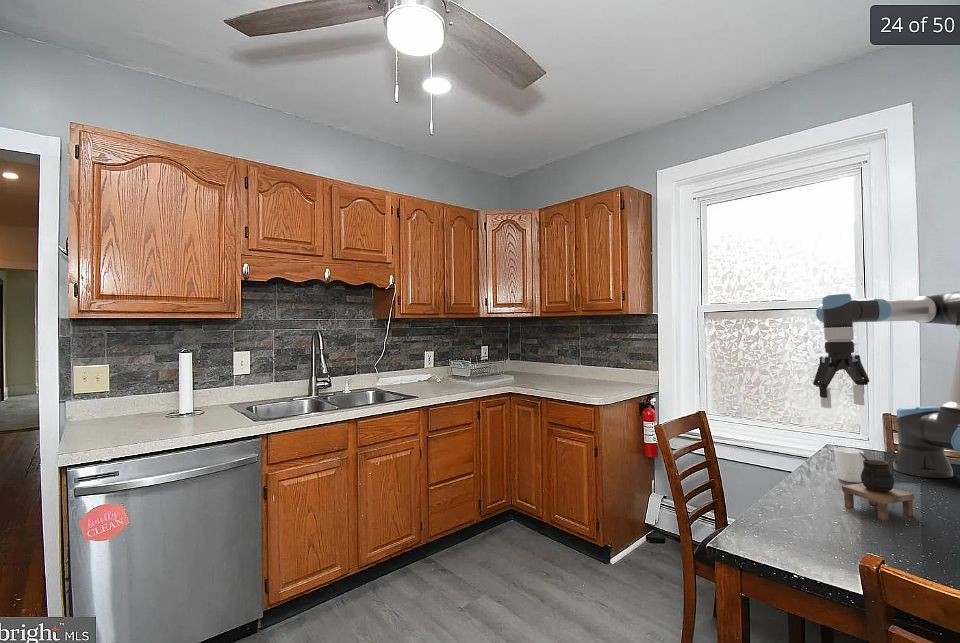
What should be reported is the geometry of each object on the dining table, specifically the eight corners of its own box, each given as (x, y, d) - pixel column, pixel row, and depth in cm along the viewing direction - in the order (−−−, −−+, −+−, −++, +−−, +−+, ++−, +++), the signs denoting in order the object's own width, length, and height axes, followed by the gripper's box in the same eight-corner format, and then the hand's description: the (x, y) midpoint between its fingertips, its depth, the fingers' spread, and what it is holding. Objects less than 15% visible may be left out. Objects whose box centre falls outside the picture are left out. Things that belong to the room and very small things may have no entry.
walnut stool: (872, 502, 135) (871, 481, 136) (915, 516, 125) (913, 493, 125) (843, 506, 133) (842, 485, 133) (884, 521, 122) (883, 498, 122)
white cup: (870, 483, 151) (869, 453, 151) (844, 483, 153) (842, 453, 153) (856, 476, 159) (854, 447, 159) (831, 475, 160) (829, 447, 161)
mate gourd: (890, 496, 124) (887, 459, 124) (856, 489, 130) (853, 454, 130) (899, 490, 128) (895, 454, 128) (865, 484, 134) (862, 449, 134)
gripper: (856, 339, 155) (860, 402, 154) (797, 342, 149) (801, 407, 148) (880, 339, 147) (885, 405, 147) (819, 342, 142) (823, 410, 141)
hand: (843, 406), depth 147 cm, fingers open, 13 cm apart
